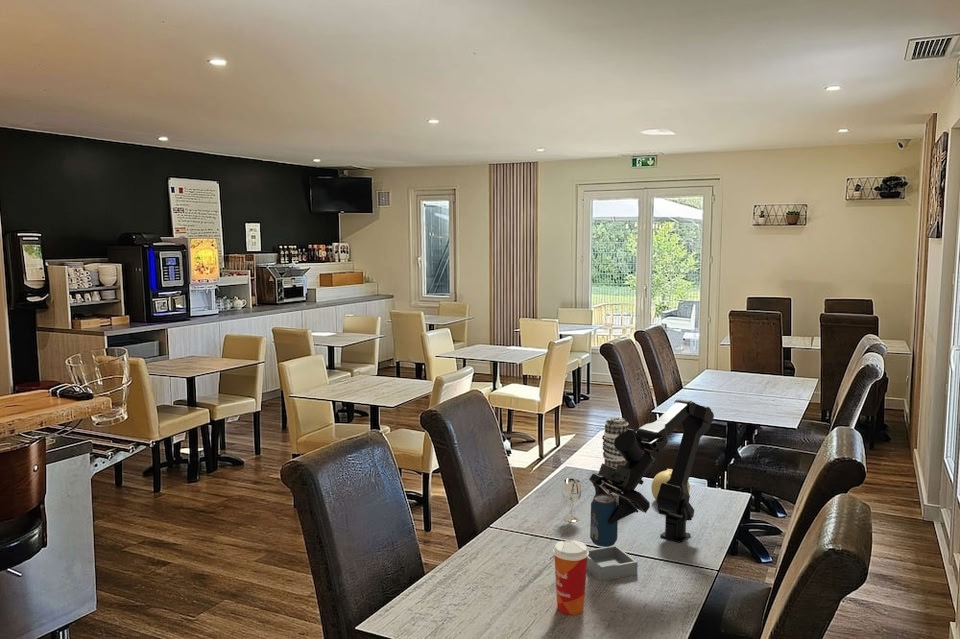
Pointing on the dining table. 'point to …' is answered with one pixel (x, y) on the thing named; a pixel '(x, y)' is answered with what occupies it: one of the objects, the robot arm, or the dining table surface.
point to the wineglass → (571, 495)
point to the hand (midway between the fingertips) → (600, 518)
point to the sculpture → (662, 481)
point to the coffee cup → (570, 576)
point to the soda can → (603, 520)
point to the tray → (610, 563)
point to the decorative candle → (612, 430)
